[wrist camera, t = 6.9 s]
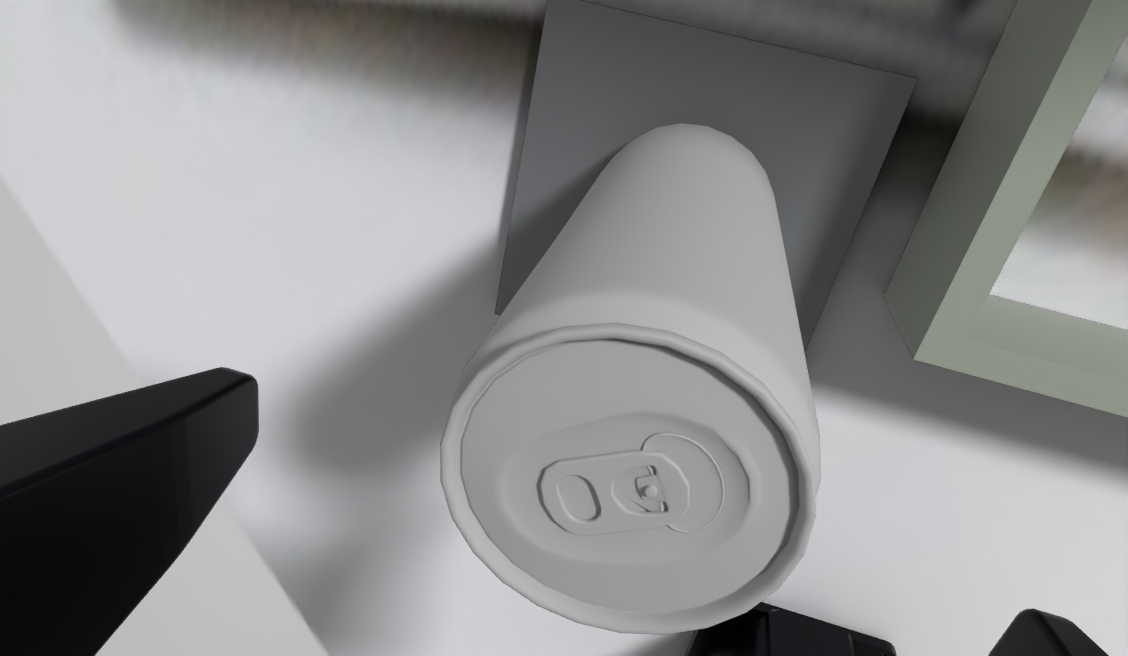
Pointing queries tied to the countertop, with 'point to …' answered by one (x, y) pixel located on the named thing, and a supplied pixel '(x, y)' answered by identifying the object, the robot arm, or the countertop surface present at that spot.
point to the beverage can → (645, 402)
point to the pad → (707, 98)
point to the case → (1013, 215)
